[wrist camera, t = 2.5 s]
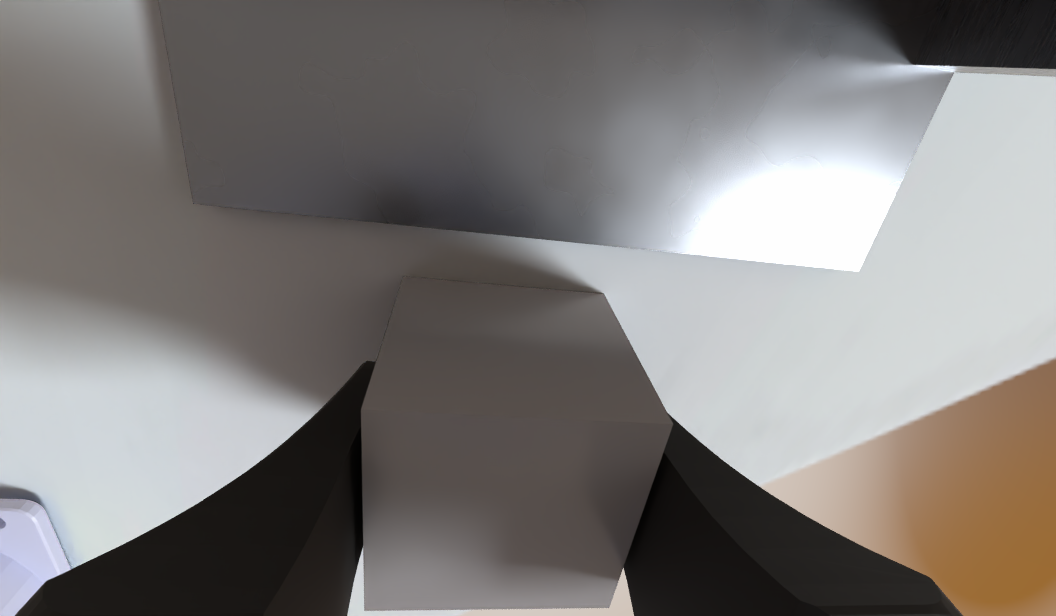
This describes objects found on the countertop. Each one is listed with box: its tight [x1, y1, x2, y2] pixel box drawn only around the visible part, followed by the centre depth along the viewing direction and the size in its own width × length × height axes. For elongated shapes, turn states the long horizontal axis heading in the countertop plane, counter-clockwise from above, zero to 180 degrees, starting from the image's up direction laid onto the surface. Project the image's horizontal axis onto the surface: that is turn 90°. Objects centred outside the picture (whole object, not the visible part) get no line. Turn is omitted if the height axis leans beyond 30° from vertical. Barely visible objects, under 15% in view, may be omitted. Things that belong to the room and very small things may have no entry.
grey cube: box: [361, 276, 673, 611], centre depth 11 cm, size 5×5×5 cm
